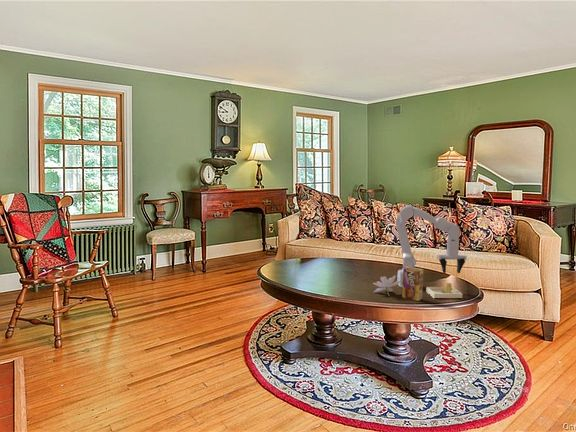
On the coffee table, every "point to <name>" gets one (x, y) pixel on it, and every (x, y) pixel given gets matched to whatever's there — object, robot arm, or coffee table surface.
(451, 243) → the robot arm
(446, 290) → the peg
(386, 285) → the water lily
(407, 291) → the candy box
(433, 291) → the bore box
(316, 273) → the coffee table surface
